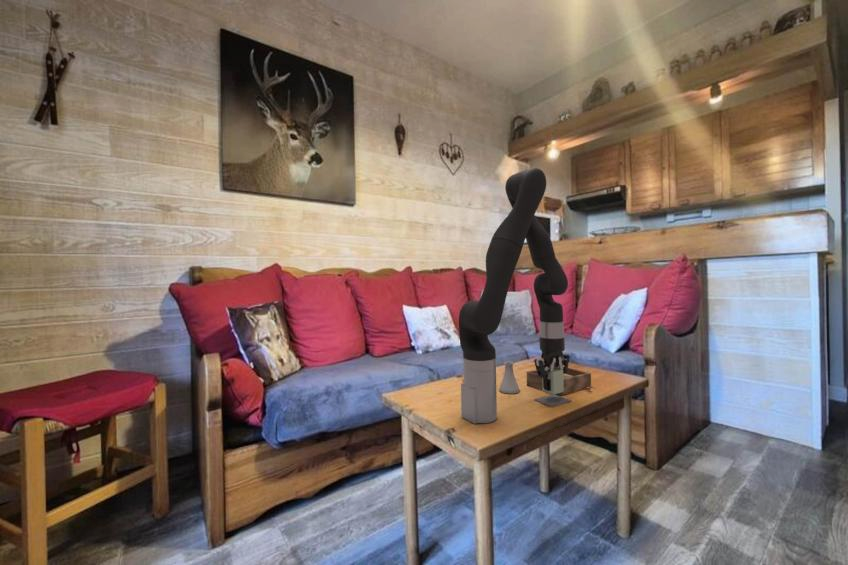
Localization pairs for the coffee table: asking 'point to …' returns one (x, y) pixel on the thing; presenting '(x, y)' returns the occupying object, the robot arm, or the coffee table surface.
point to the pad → (552, 400)
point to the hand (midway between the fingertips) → (553, 388)
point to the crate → (571, 380)
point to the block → (556, 381)
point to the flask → (509, 380)
